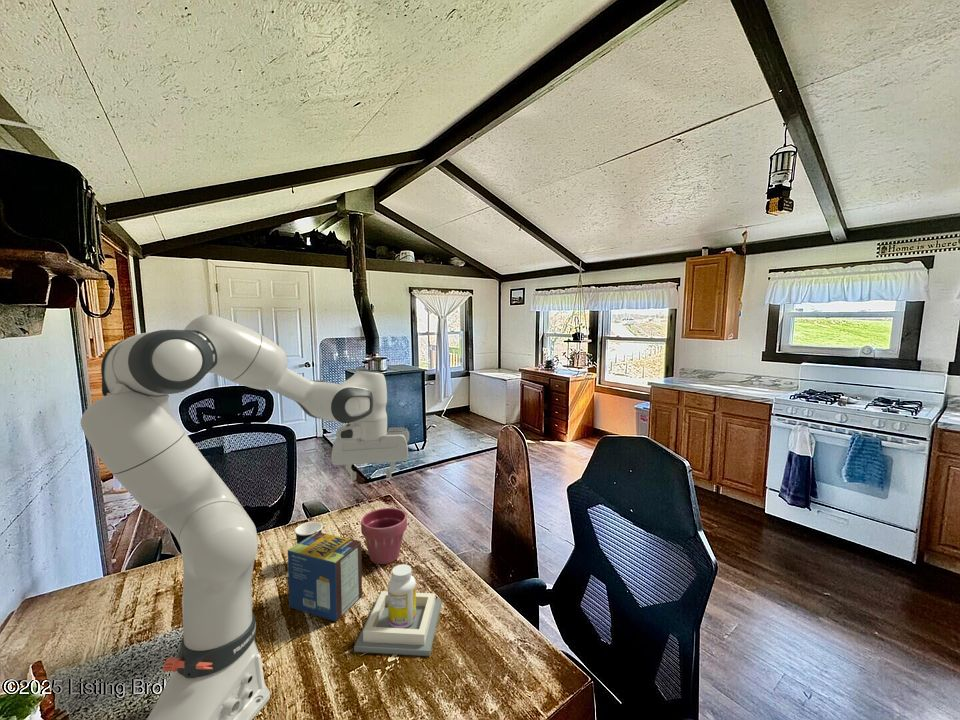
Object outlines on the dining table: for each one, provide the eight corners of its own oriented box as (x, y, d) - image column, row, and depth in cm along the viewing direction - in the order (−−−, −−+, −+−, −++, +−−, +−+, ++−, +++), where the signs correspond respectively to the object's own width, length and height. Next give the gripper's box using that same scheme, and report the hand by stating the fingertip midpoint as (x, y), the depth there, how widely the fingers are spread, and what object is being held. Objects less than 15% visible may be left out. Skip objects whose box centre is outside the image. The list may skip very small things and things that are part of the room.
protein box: (317, 583, 112) (315, 530, 111) (362, 596, 107) (362, 540, 106) (287, 607, 102) (286, 549, 101) (336, 623, 97) (335, 562, 96)
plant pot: (358, 549, 129) (357, 511, 128) (400, 540, 135) (400, 504, 134) (365, 574, 116) (364, 532, 115) (412, 562, 122) (412, 522, 121)
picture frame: (429, 656, 87) (429, 640, 87) (354, 651, 88) (354, 636, 88) (441, 603, 104) (441, 590, 104) (378, 600, 105) (378, 587, 105)
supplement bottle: (406, 606, 101) (406, 558, 100) (421, 620, 96) (421, 569, 95) (382, 619, 96) (382, 569, 96) (397, 634, 92) (397, 581, 91)
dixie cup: (295, 572, 117) (294, 536, 116) (295, 558, 124) (294, 524, 123) (324, 566, 120) (323, 531, 119) (322, 552, 127) (321, 519, 127)
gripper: (408, 424, 113) (409, 471, 114) (333, 427, 108) (334, 476, 109) (410, 429, 107) (410, 479, 108) (329, 433, 102) (330, 485, 103)
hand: (371, 478), depth 109 cm, fingers open, 8 cm apart
